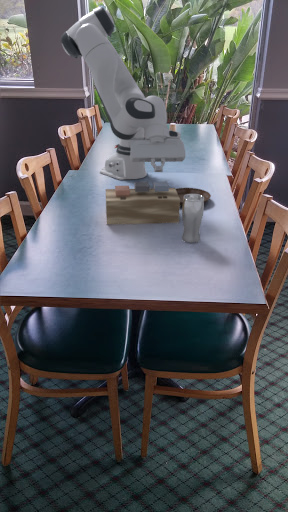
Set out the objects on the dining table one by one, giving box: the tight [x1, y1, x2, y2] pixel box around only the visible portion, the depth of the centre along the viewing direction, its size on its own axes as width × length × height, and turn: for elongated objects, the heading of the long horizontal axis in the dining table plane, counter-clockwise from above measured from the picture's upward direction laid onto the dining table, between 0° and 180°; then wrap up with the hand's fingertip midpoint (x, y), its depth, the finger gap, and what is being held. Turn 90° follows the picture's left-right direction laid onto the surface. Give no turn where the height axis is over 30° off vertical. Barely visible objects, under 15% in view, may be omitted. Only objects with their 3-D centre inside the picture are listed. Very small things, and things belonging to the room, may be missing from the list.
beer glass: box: [181, 194, 205, 244], centre depth 150 cm, size 7×7×15 cm
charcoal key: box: [133, 181, 150, 192], centre depth 165 cm, size 5×5×2 cm
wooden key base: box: [105, 187, 181, 226], centre depth 167 cm, size 12×26×9 cm, turn 95°
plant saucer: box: [175, 187, 212, 207], centre depth 184 cm, size 18×18×3 cm
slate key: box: [152, 180, 170, 191], centre depth 166 cm, size 5×5×2 cm
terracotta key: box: [114, 185, 131, 196], centre depth 165 cm, size 5×5×2 cm
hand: (158, 171), depth 165 cm, fingers closed
